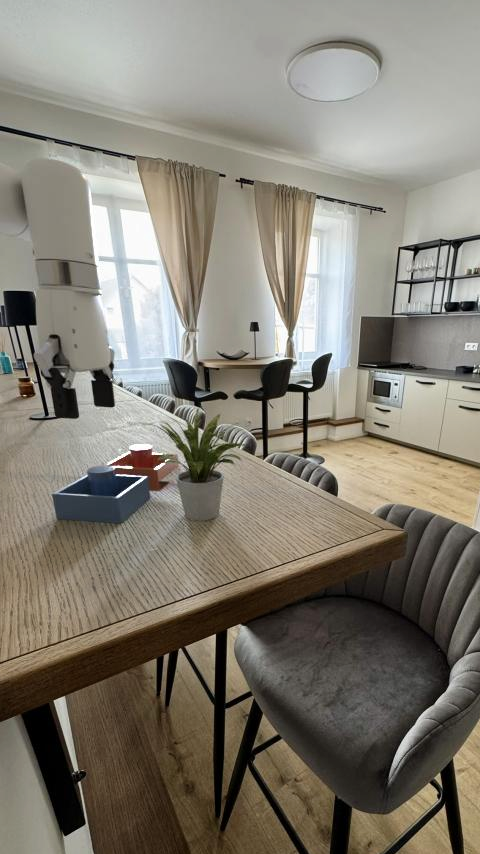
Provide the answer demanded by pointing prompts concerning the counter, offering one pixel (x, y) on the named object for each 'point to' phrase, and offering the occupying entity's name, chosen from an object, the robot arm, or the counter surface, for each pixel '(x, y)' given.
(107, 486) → the tall blue post
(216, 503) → the house plant
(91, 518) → the blue bin
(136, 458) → the red cylinder
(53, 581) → the counter surface
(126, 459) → the terracotta bin
